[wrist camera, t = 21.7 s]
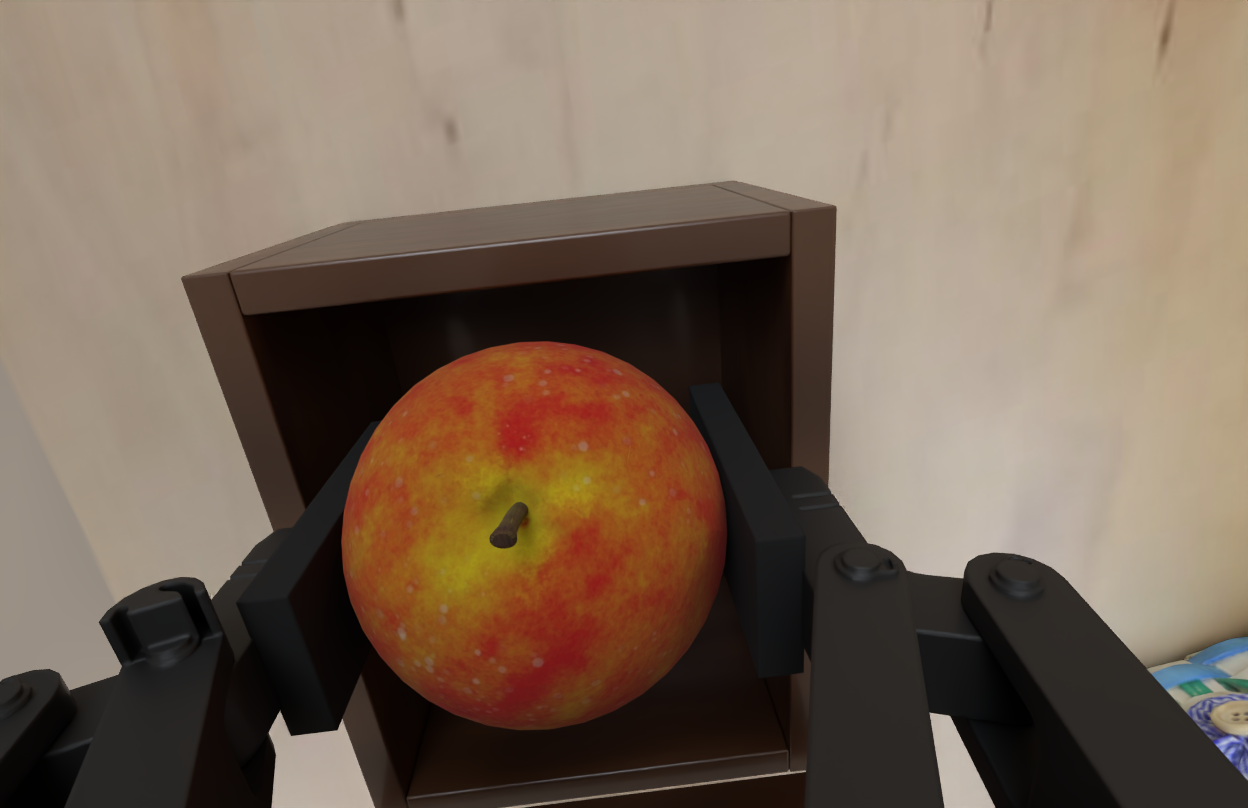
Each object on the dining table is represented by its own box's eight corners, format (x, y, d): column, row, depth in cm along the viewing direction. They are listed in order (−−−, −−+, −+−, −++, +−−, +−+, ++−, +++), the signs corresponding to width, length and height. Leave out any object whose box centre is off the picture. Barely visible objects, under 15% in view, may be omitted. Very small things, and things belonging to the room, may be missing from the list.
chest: (341, 222, 20) (178, 277, 12) (736, 180, 21) (837, 205, 12) (442, 613, 26) (380, 824, 18) (747, 576, 27) (820, 769, 19)
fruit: (416, 409, 16) (220, 277, 9) (684, 380, 16) (733, 224, 9) (426, 699, 15) (197, 863, 7) (723, 666, 15) (825, 789, 7)
